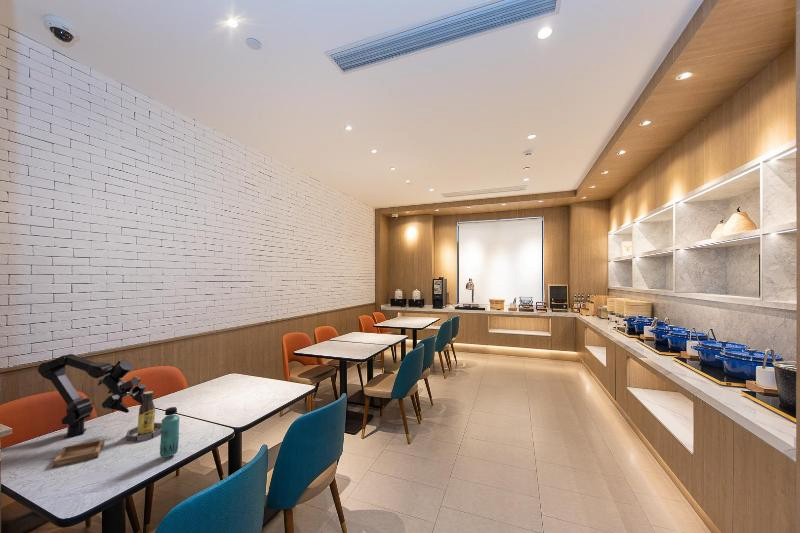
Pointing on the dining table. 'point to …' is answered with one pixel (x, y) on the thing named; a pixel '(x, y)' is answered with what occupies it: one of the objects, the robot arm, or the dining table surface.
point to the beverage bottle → (169, 433)
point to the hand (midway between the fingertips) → (136, 408)
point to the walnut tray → (78, 453)
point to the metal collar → (134, 438)
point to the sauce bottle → (146, 414)
